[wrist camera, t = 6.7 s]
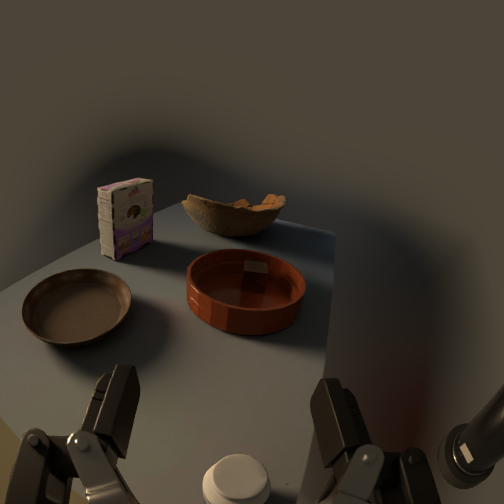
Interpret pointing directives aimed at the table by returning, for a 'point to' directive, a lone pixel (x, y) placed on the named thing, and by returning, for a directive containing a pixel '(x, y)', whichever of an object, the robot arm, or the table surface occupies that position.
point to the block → (254, 276)
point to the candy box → (125, 217)
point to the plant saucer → (76, 307)
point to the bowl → (244, 292)
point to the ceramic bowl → (233, 215)
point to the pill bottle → (236, 481)
